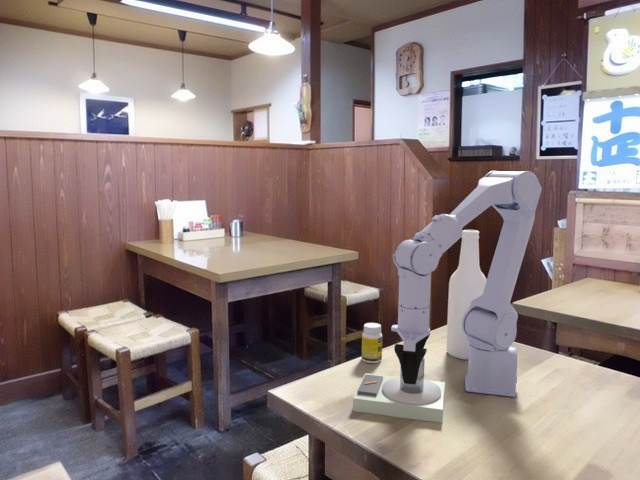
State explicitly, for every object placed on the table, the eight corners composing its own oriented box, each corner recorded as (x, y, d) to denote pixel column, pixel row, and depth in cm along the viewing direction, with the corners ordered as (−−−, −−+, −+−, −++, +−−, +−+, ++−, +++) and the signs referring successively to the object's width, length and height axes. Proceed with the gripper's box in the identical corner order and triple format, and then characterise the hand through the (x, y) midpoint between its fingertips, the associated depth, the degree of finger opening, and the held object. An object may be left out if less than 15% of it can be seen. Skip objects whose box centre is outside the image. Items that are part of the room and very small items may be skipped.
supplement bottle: (380, 364, 116) (381, 329, 115) (360, 362, 117) (360, 327, 116) (382, 357, 121) (383, 322, 120) (362, 355, 122) (363, 321, 121)
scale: (444, 394, 101) (445, 378, 101) (442, 422, 90) (442, 405, 89) (364, 384, 106) (365, 369, 105) (352, 411, 94) (353, 394, 94)
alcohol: (483, 349, 126) (489, 229, 122) (484, 362, 118) (491, 233, 114) (446, 346, 129) (451, 227, 124) (445, 358, 120) (450, 232, 116)
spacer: (424, 385, 98) (425, 355, 97) (422, 395, 94) (423, 364, 93) (401, 382, 100) (402, 353, 99) (398, 392, 95) (399, 361, 94)
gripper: (397, 294, 102) (395, 359, 104) (386, 314, 89) (385, 388, 91) (433, 296, 101) (430, 362, 103) (428, 317, 87) (425, 393, 89)
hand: (411, 375), depth 96 cm, fingers open, 7 cm apart
